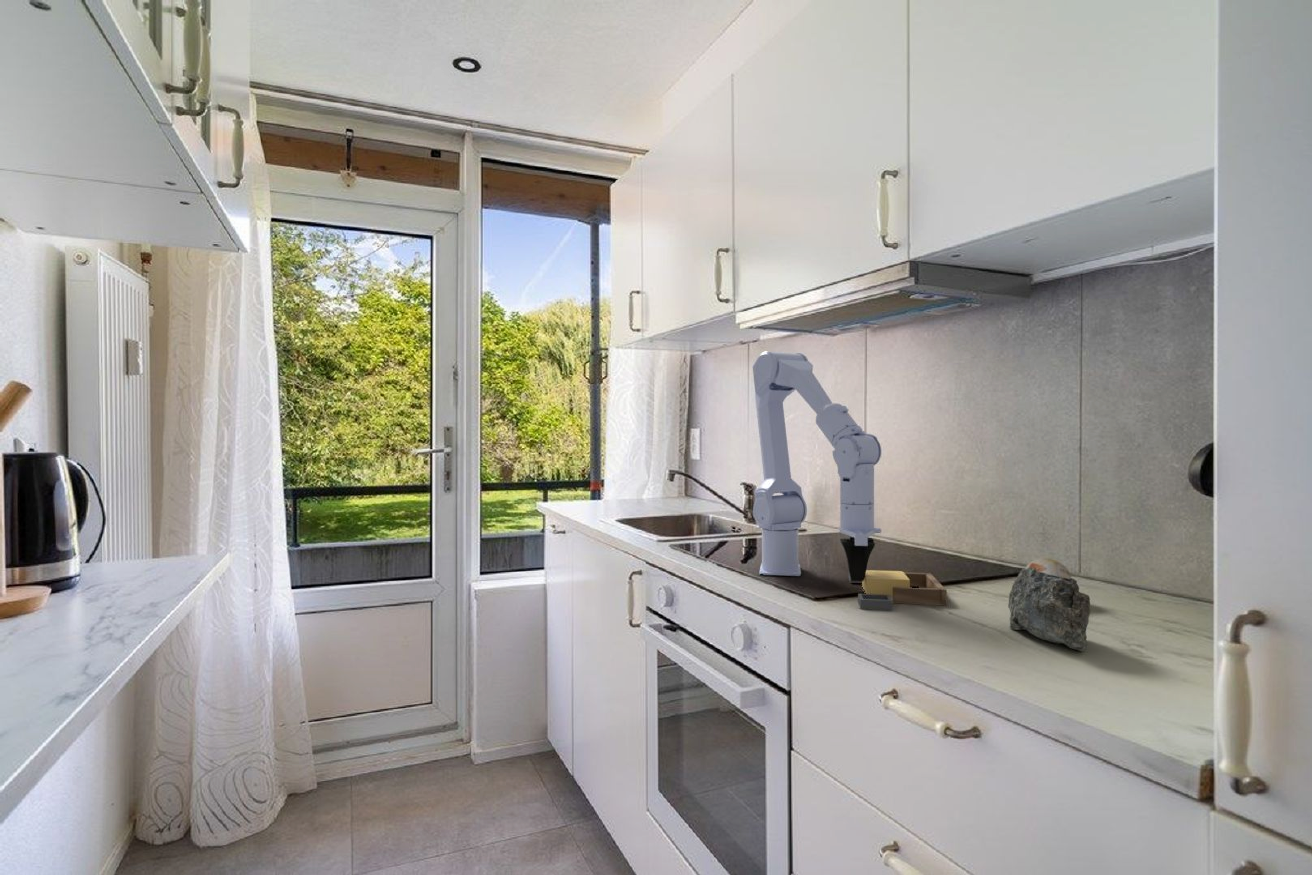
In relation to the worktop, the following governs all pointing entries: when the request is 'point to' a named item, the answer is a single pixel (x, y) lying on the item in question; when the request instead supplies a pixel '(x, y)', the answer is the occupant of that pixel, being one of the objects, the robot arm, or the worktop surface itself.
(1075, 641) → the rock
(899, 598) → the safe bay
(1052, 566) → the cream rounded piece
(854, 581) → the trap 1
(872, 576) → the block
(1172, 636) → the worktop surface
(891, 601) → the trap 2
